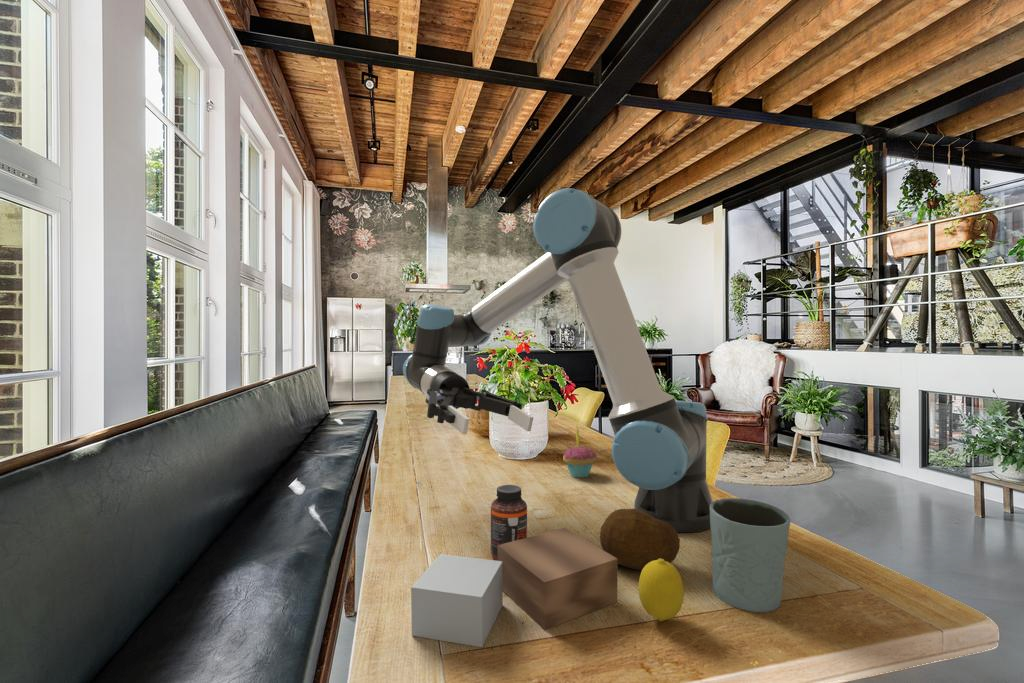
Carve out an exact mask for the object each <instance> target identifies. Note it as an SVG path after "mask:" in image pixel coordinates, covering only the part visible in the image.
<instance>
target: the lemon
mask: <svg viewBox="0 0 1024 683" xmlns="http://www.w3.org/2000/svg"><path fill="white" fill-rule="evenodd" d="M683 584H684V583H683V580H682V577H681V574H680V573H679V570H678V569H677V568H676V567H675V566H674V565H673V564H672V563H668V562H666V561H664V560H663V559H661V558H660V559H658V560H654V561H651V562H649V563H648V564H646V565H645V567H644V568H643V569H642V570H641V572H640V576H639V580H638V584H637V586H638V588H637V589H638V590H637V591H638V596H639V597H638V598H639V601H640V603H641V606H642V607H643V609H644V610H645V612H646V613H647V614H649V615H650V616H651V617H653V618H655V619H657V621H658V622H661V623H662V622H664V621H665V620H667V621H668V620H670V619H672V618H674V617H676V616H677V615H678V614H679V612H680V611H681V609H682V606H683V603H684V596H685V591H684V590H685V589H684V585H683Z"/></svg>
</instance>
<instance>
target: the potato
mask: <svg viewBox="0 0 1024 683" xmlns="http://www.w3.org/2000/svg"><path fill="white" fill-rule="evenodd" d="M600 527H601V528H600V533H599V541H600V542H599V543H600V546H601V549H602V550H604V551H605V552H607V553H609V554H610V555H612V556H614V557H616V558H617V559H618V565H620V566H623V567H626V568H629V569H633V570H637V571H642V569H643V568H644V567H645V565H646V564H648V563H649V562H651V561H654V560H658V559H660V558H661V559H663V560H664V561H666V562H668V563H670V564H672V563H673V561H675V559H676V558H677V556H678V553H679V551H680V548H681V547H680V545H681V542H680V536H679V533H678V532H677V531H676V530H675V529H674V528H673V526H672V525H671V524H669V523H667V522H664V521H661V520H659V519H656V518H654V517H653V516H651V515H650V514H648V513H647V512H644V511H642V510H639V509H634V508H620V509H615V510H614V511H613V512H611V513H610V514H609V515H608V516H607V517H606V518H605V520H604V521H603V524H602V525H601V526H600Z"/></svg>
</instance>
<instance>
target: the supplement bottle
mask: <svg viewBox="0 0 1024 683" xmlns="http://www.w3.org/2000/svg"><path fill="white" fill-rule="evenodd" d="M522 495H523V494H522V487H520V486H519V485H515V484H503V485H499V486H497V488H496V498H495V499H494V500H492V502H491V504H490V556H491V558H492V560H495V561H498V550H497V545H501V544H504V543H508V542H512V541H516V540H519V539H523V538H527V537H528V505H527V501H525V500H524V499H523V497H522Z"/></svg>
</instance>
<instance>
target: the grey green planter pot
mask: <svg viewBox="0 0 1024 683" xmlns="http://www.w3.org/2000/svg"><path fill="white" fill-rule="evenodd" d="M710 527H711V528H710V532H711V556H712V560H711V561H712V567H711V568H712V571H711V573H712V579H711V580H712V590H713V593H714V594H715V596H716V597H717V598H718V599H719V600H720V601H722V602H724V603H725V604H727V605H729V606H731V607H734V608H735V609H740V610H742V611H747V612H751V613H752V612H753V613H768V612H773V611H775V610H777V609H778V608H779V607H780V605H781V602H782V601H781V600H782V594H783V584H784V583H783V582H784V581H783V575H784V569H785V556H786V554H787V551H788V550H787V549H788V541H789V534H790V529H791V528H790V527H791V518H790V515H789V514H787V513H786V512H785V511H784V510H782V509H780V508H779V507H777V506H774V505H773V504H769V503H766V502H763V501H759V500H754V499H748V498H738V497H737V498H735V497H734V498H733V497H732V498H731V497H729V498H720V499H716V500H713V502H712V503H711V504H710Z"/></svg>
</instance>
